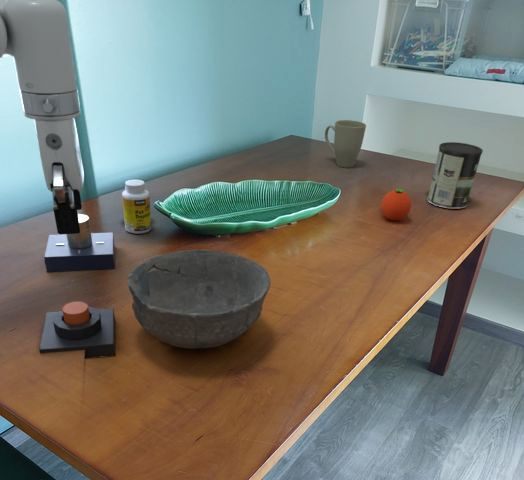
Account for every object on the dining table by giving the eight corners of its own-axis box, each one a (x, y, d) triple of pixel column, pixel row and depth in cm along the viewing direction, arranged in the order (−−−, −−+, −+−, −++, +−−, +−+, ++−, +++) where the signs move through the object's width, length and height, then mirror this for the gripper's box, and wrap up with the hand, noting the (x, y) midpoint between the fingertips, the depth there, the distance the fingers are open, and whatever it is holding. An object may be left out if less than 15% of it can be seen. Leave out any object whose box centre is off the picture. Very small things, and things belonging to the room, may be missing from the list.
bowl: (265, 302, 92) (268, 249, 87) (268, 376, 76) (273, 316, 70) (144, 298, 91) (139, 244, 86) (120, 372, 75) (113, 311, 69)
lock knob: (92, 248, 99) (88, 220, 96) (67, 249, 98) (62, 222, 95) (92, 238, 103) (88, 211, 100) (68, 239, 102) (63, 212, 99)
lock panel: (46, 272, 97) (43, 256, 95) (51, 248, 105) (49, 233, 103) (114, 268, 100) (113, 253, 98) (114, 246, 108) (113, 231, 106)
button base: (42, 362, 75) (36, 338, 73) (48, 324, 83) (44, 302, 81) (115, 356, 78) (112, 333, 75) (114, 319, 85) (112, 298, 83)
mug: (355, 160, 167) (362, 120, 160) (362, 170, 159) (369, 128, 152) (321, 159, 166) (326, 118, 159) (326, 169, 158) (331, 126, 151)
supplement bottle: (136, 237, 112) (132, 188, 106) (120, 229, 115) (114, 181, 109) (157, 230, 115) (154, 182, 109) (140, 222, 118) (137, 176, 112)
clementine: (383, 210, 132) (389, 182, 128) (411, 216, 130) (418, 187, 126) (375, 221, 126) (380, 191, 122) (404, 227, 124) (410, 197, 120)
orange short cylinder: (63, 327, 77) (61, 314, 75) (65, 314, 79) (63, 302, 78) (89, 325, 77) (87, 313, 76) (90, 312, 80) (88, 300, 79)
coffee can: (464, 198, 143) (479, 144, 135) (469, 212, 135) (486, 154, 126) (425, 194, 144) (437, 140, 136) (428, 207, 136) (441, 150, 128)
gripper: (77, 117, 68) (95, 242, 78) (81, 91, 82) (95, 200, 92) (14, 117, 67) (40, 245, 77) (28, 91, 80) (49, 202, 90)
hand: (70, 220), depth 84 cm, fingers open, 9 cm apart
